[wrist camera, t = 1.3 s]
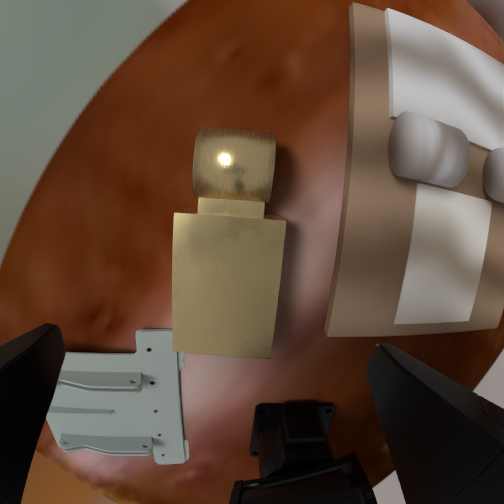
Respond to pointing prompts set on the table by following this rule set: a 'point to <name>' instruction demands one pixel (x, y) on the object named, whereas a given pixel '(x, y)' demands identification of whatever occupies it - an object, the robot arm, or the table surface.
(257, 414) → the robot arm
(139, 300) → the table surface
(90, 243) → the table surface
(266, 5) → the table surface
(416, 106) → the hinge base
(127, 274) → the table surface
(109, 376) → the metal bracket
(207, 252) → the perfume bottle
